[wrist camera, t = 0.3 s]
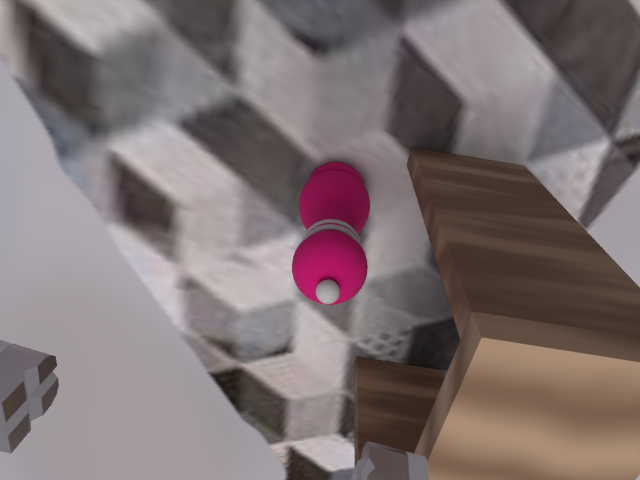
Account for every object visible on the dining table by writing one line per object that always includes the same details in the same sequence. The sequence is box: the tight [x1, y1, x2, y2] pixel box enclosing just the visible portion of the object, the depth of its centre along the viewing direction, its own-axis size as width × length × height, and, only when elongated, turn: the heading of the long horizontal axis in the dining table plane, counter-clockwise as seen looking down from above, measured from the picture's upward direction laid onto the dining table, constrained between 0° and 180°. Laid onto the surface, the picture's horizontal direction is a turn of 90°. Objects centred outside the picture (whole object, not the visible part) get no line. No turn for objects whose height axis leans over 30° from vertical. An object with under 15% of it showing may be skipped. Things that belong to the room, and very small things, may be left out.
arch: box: [354, 147, 640, 480], centre depth 42 cm, size 32×12×29 cm, turn 171°
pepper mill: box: [292, 162, 370, 305], centre depth 41 cm, size 7×7×20 cm
